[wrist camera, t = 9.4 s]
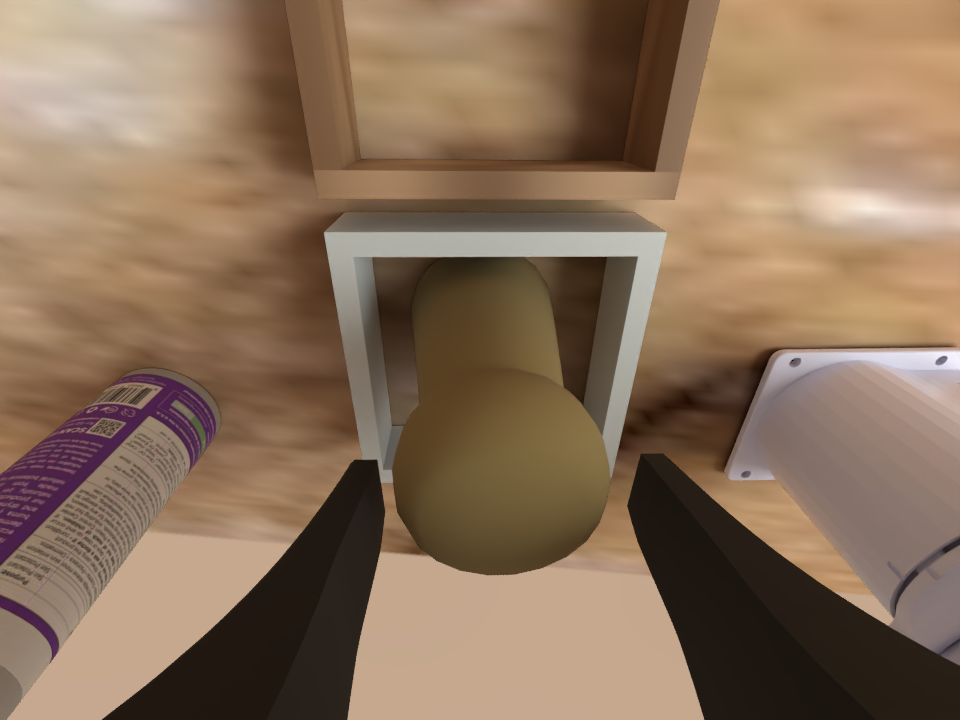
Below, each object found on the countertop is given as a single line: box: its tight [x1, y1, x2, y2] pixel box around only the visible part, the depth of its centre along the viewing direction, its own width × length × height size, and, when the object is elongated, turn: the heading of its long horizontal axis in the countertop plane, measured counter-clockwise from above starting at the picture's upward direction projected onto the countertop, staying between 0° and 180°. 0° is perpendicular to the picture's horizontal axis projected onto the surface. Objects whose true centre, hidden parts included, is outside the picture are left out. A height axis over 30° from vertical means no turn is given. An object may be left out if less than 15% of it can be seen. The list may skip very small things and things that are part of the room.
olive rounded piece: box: [392, 257, 611, 575], centre depth 14 cm, size 6×6×11 cm
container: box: [0, 368, 221, 720], centre depth 14 cm, size 5×5×15 cm
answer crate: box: [324, 212, 667, 483], centre depth 18 cm, size 11×11×3 cm
